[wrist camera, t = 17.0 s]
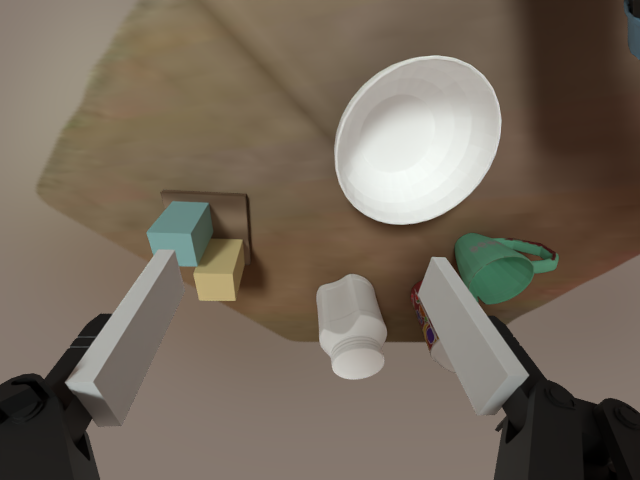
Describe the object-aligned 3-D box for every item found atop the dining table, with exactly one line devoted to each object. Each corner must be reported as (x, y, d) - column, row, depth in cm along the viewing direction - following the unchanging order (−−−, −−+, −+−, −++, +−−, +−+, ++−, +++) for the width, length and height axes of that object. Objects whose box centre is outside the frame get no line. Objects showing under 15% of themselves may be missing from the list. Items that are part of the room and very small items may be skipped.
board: (163, 189, 42) (160, 192, 41) (246, 193, 43) (245, 196, 42) (180, 259, 49) (178, 263, 48) (250, 261, 50) (250, 264, 49)
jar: (329, 319, 60) (337, 389, 48) (308, 290, 55) (311, 360, 42) (380, 299, 58) (402, 368, 45) (363, 268, 53) (383, 335, 40)
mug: (441, 270, 54) (467, 310, 46) (439, 229, 49) (468, 265, 40) (520, 251, 53) (561, 289, 45) (527, 206, 47) (576, 239, 39)
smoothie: (396, 299, 58) (436, 399, 41) (418, 269, 54) (471, 367, 37) (431, 307, 60) (482, 405, 43) (454, 278, 56) (520, 376, 39)
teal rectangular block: (172, 201, 42) (146, 232, 35) (208, 202, 42) (190, 233, 35) (179, 231, 45) (156, 265, 37) (213, 232, 45) (197, 266, 38)
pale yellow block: (209, 238, 46) (193, 273, 39) (242, 239, 46) (232, 274, 39) (213, 263, 49) (199, 300, 41) (244, 264, 49) (235, 300, 42)
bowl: (443, 196, 45) (471, 223, 38) (326, 197, 44) (331, 226, 37) (483, 55, 35) (531, 57, 28) (330, 52, 34) (339, 53, 26)
